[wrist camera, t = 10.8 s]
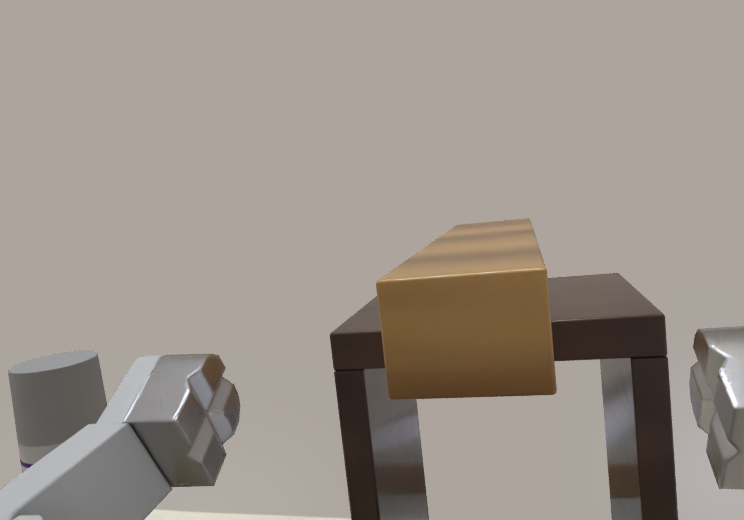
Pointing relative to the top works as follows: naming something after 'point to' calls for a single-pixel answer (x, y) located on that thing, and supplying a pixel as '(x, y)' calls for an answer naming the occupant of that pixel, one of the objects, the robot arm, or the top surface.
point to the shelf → (570, 342)
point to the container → (54, 400)
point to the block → (469, 316)
